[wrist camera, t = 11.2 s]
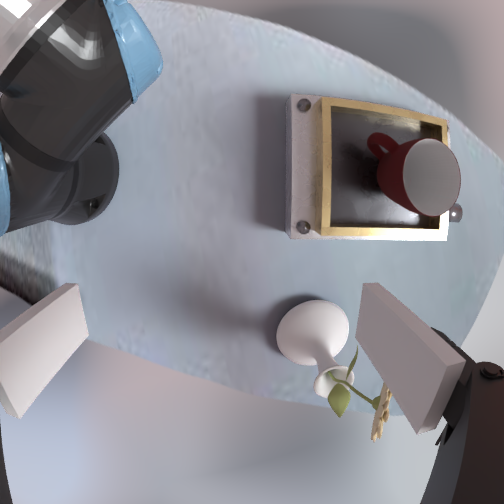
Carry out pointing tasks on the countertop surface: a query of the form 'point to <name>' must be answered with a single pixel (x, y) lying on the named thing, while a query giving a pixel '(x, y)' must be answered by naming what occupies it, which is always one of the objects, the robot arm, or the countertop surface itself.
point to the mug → (417, 173)
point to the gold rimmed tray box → (351, 171)
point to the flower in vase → (326, 355)
